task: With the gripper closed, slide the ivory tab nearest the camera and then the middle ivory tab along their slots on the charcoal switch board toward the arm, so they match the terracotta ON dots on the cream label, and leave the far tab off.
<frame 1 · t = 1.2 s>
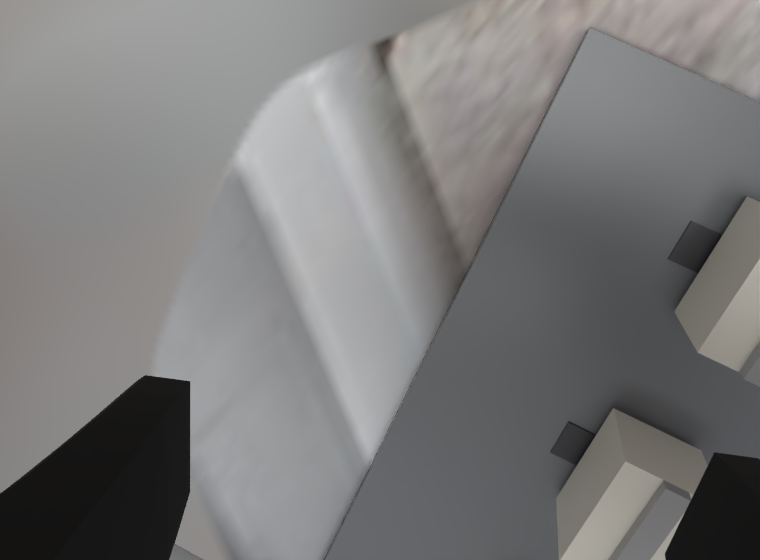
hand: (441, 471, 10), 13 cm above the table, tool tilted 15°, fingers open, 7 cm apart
middle tab: (633, 508, 19), point 3 cm above the table, slide at 0.0 cm
switch board: (677, 476, 22), on the table
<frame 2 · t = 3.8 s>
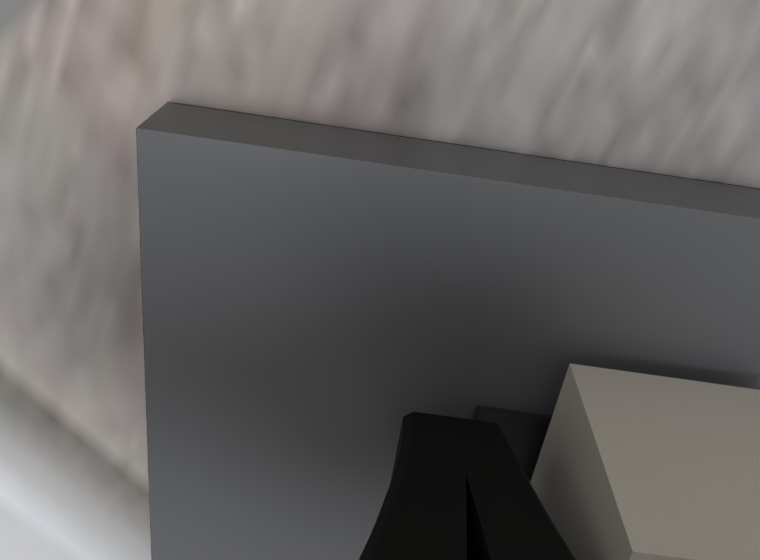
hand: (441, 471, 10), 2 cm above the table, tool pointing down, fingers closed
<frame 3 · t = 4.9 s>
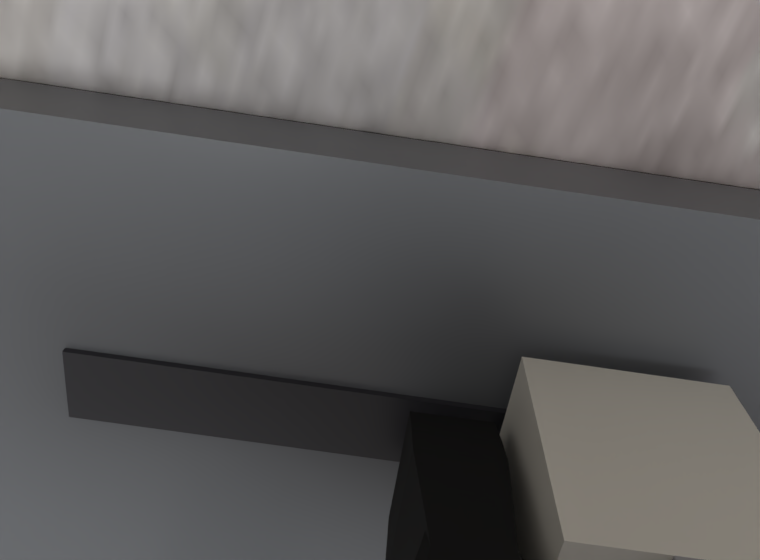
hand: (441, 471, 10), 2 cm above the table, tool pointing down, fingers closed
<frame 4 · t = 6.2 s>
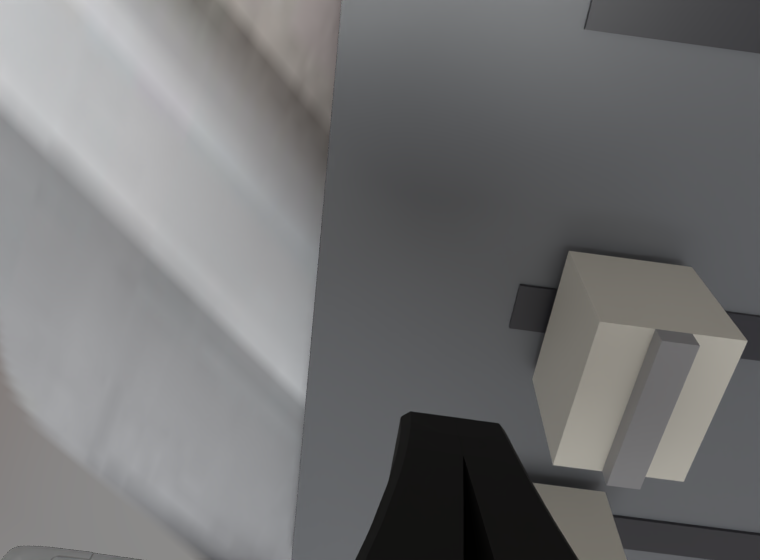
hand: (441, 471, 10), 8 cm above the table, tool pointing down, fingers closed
middle tab: (626, 368, 15), point 3 cm above the table, slide at 0.0 cm
switch board: (669, 302, 18), on the table
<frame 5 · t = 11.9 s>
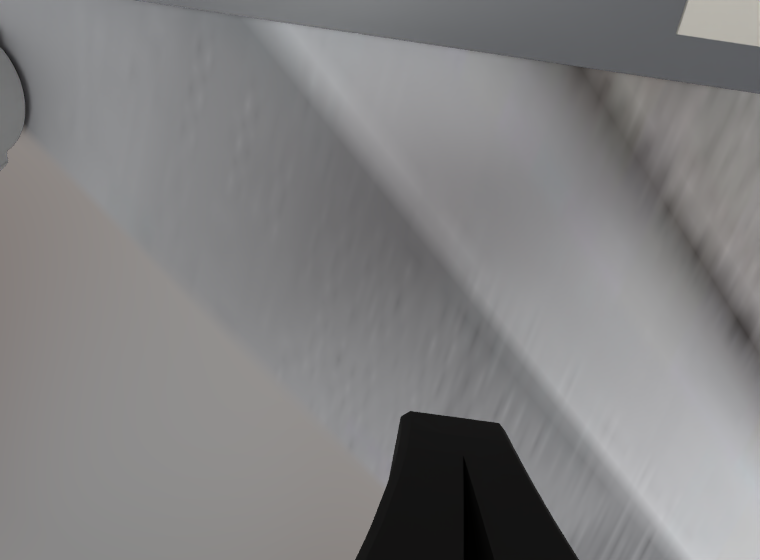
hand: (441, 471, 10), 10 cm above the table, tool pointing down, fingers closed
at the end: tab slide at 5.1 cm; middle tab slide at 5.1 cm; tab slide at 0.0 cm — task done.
